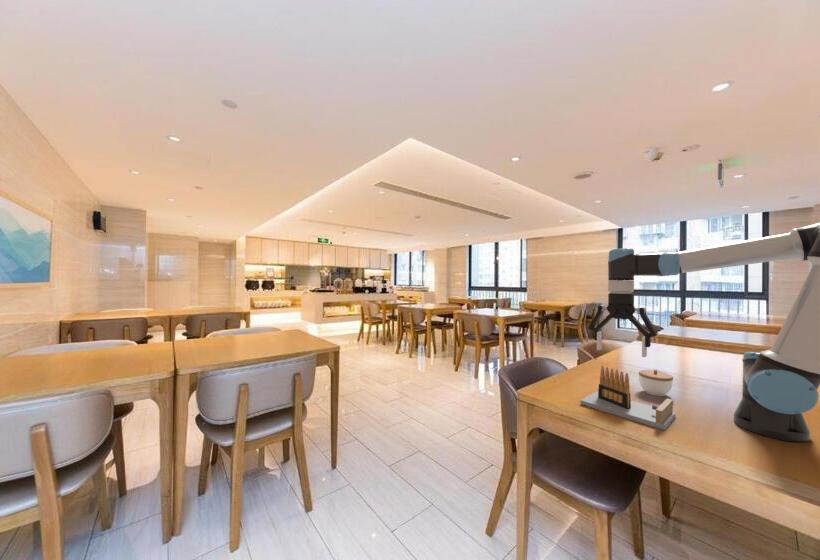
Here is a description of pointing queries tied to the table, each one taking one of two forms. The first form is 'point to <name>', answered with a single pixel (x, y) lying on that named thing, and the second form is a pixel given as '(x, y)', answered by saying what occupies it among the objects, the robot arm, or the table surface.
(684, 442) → the table surface
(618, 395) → the ammunition clip
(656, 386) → the lidded jar
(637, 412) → the wall board
